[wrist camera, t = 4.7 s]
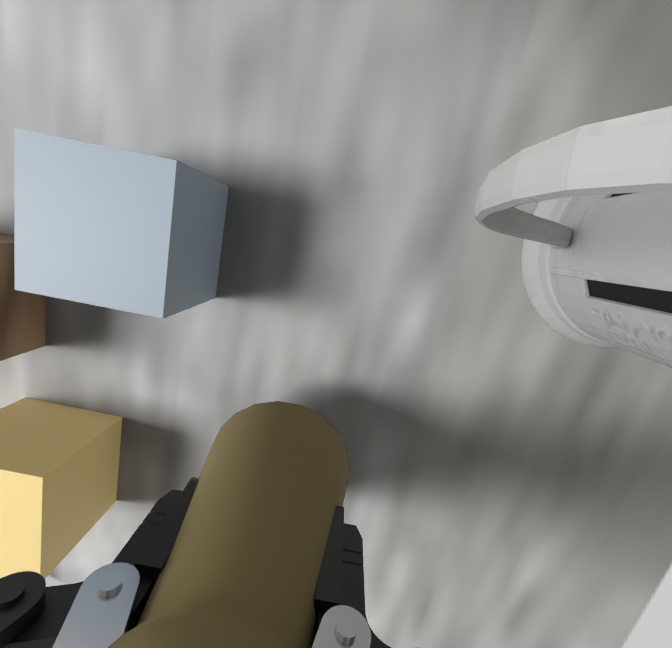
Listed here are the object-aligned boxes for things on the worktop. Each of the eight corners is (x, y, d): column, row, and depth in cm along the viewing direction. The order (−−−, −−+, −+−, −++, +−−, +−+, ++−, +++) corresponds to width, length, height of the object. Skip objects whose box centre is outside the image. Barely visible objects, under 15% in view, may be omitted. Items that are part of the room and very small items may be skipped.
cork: (351, 402, 15) (351, 834, 4) (349, 527, 16) (346, 1098, 5) (205, 399, 15) (-162, 802, 4) (216, 523, 16) (-41, 1062, 6)
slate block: (117, 164, 16) (13, 128, 11) (229, 186, 16) (177, 160, 11) (111, 276, 17) (14, 289, 12) (216, 297, 17) (162, 318, 12)
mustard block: (26, 396, 18) (-90, 451, 13) (123, 416, 18) (42, 477, 14) (25, 481, 19) (-83, 560, 15) (117, 499, 19) (40, 584, 15)
